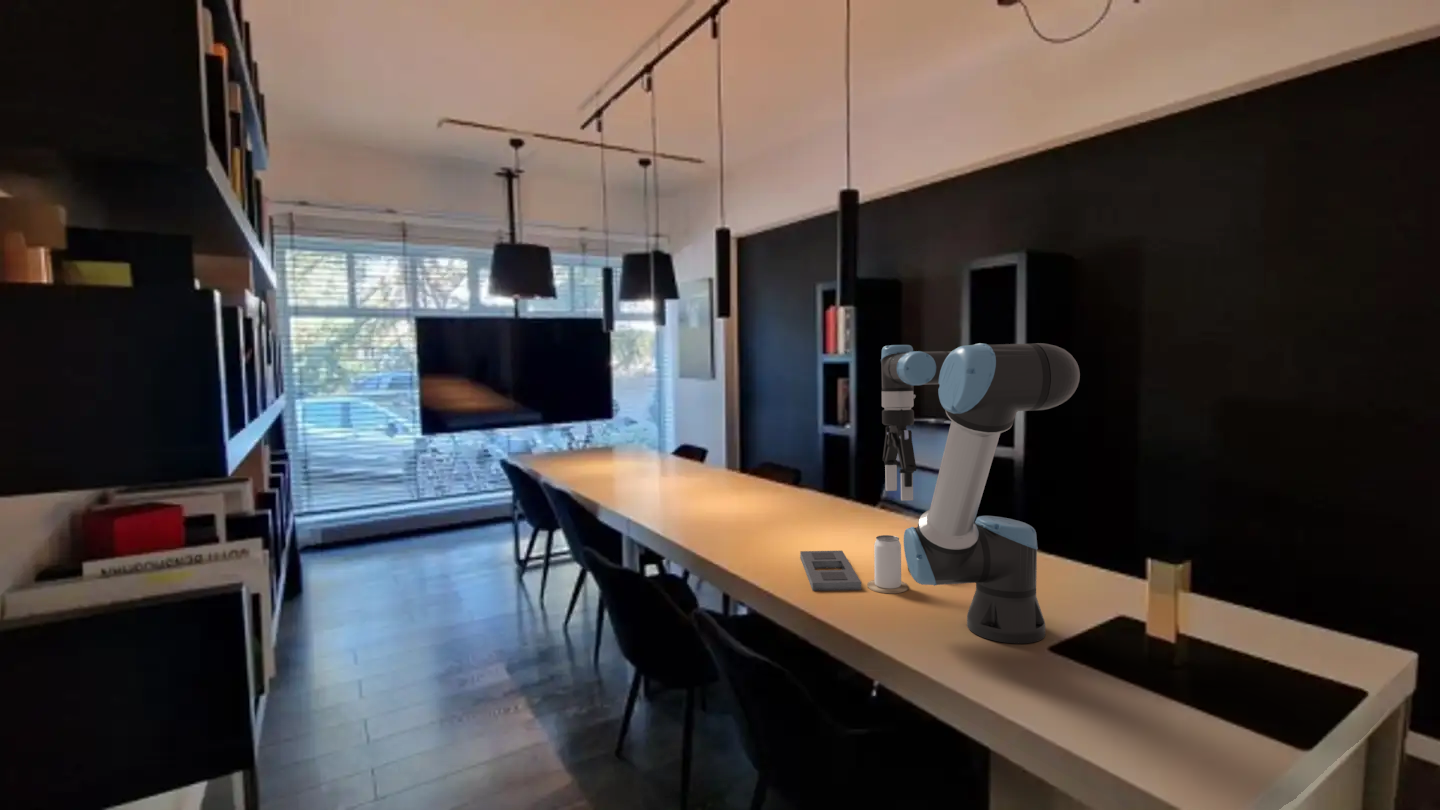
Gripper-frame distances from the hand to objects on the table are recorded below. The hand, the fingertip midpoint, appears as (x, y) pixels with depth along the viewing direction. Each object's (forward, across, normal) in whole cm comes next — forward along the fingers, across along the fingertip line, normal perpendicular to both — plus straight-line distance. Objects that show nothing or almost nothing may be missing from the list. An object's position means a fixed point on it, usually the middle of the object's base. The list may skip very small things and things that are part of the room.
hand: (898, 495), depth 169 cm
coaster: (+23, +2, +2) cm, 24 cm away
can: (+23, +2, +2) cm, 23 cm away
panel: (+23, +15, +15) cm, 31 cm away
